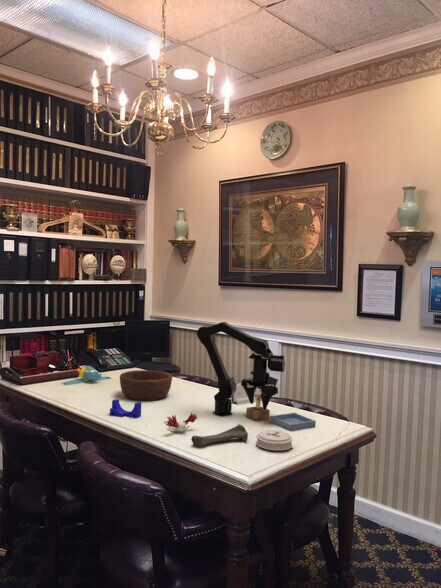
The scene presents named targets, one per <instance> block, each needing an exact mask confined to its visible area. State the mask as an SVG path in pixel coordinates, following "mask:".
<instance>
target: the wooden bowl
mask: <svg viewBox="0 0 441 588" xmlns="http://www.w3.org/2000/svg"><path fill="white" fill-rule="evenodd" d="M172 381H173V375H172V374H171V373H170V372H166V371H161V370H153V369H152V370H149V369H139V370H129V371H125V372H122V373H121V374H119V382H120V389H121V392H122V394H123V395H124V397H125V398H126V399H129V400H132V401H138V402H143V401H144V402H147V401H148V402H151V401H160V400H163V399H165V398H166V397H167V396H168V394H169V392H170V390H171V386H172V383H173V382H172Z"/></svg>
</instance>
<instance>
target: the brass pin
mask: <svg viewBox="0 0 441 588" xmlns="http://www.w3.org/2000/svg"><path fill="white" fill-rule="evenodd" d="M255 398H256V402H255V407H256V410H260V406H261V404H262V401H261V393H260V394H256V395H255Z"/></svg>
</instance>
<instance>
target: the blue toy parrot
mask: <svg viewBox="0 0 441 588" xmlns="http://www.w3.org/2000/svg"><path fill="white" fill-rule="evenodd" d="M76 371H77V373H78V375H79V377H81V378H79V379H73V380H68V381H64V382H61V385H63V386H70V385H78V384H86V383H90V382H91V383H93V382H99V381H105V380H112V379H113V378H112V377H110V376H102V373H99V371H98V370H96V369H95V367H92V366H91V365H85V366H83V367H82V368H81V369H80V367H78V368H76Z"/></svg>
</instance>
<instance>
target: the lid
mask: <svg viewBox="0 0 441 588" xmlns="http://www.w3.org/2000/svg"><path fill="white" fill-rule="evenodd" d="M292 441H293V436H292V435H290V433H288V432H286V431H282V430H279V429H278V430H276V429H265V430H264V429H263V430H261V431H260V432H257V434H256V442H255V444H256V445H257V446H258V447H259V448H261V449H265V450H268V451H270V450H271V451H286V450H289V449H291V448H292V447H293V444H292Z"/></svg>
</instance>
